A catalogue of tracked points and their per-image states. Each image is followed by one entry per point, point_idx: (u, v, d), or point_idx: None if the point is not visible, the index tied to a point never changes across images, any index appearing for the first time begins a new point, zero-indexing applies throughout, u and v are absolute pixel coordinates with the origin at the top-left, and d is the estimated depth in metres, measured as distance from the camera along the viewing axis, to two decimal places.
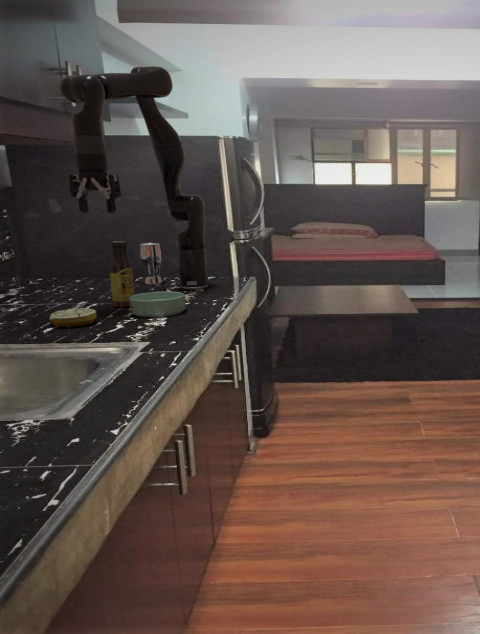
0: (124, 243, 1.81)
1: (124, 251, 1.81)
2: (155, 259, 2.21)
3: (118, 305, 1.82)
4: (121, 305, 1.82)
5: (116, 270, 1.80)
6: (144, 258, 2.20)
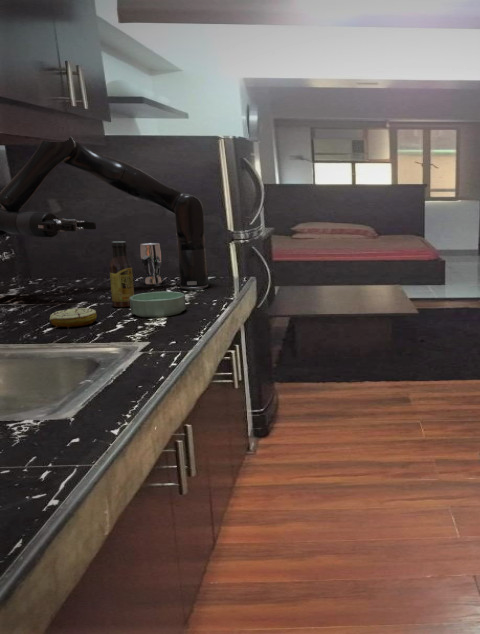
0: (124, 243, 1.81)
1: (124, 251, 1.81)
2: (155, 259, 2.21)
3: (118, 305, 1.82)
4: (121, 305, 1.82)
5: (116, 270, 1.80)
6: (144, 258, 2.20)
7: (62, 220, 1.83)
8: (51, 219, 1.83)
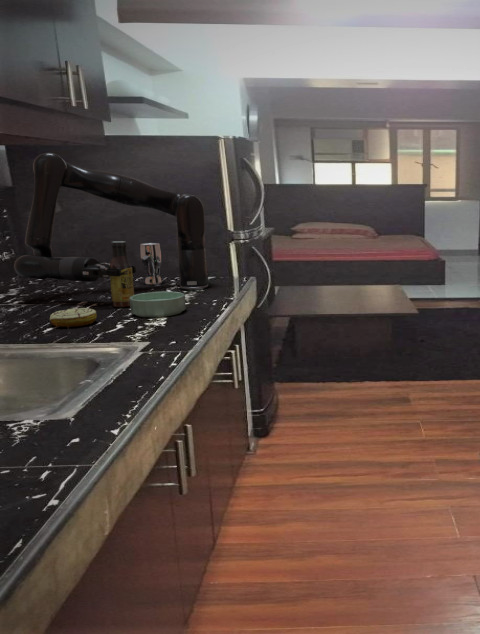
0: (124, 243, 1.80)
1: (124, 251, 1.81)
2: (155, 259, 2.21)
3: (118, 305, 1.82)
4: (121, 305, 1.82)
5: None
6: (144, 258, 2.20)
7: (103, 264, 1.84)
8: (92, 264, 1.84)
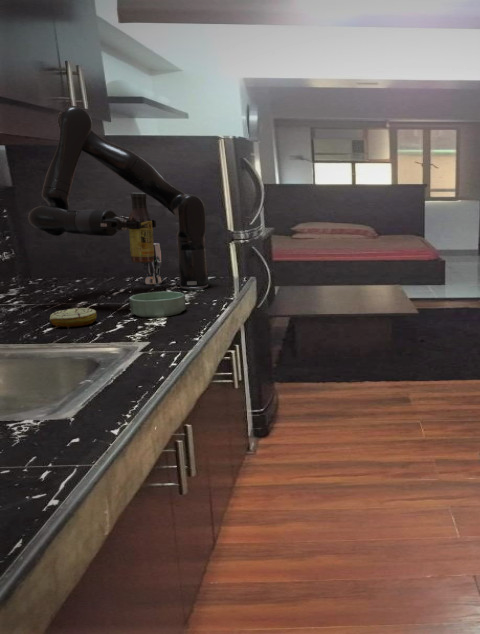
0: (144, 194, 1.71)
1: (144, 203, 1.71)
2: (155, 259, 2.21)
3: (137, 260, 1.72)
4: (140, 260, 1.72)
5: None
6: None
7: (121, 218, 1.75)
8: (111, 217, 1.74)
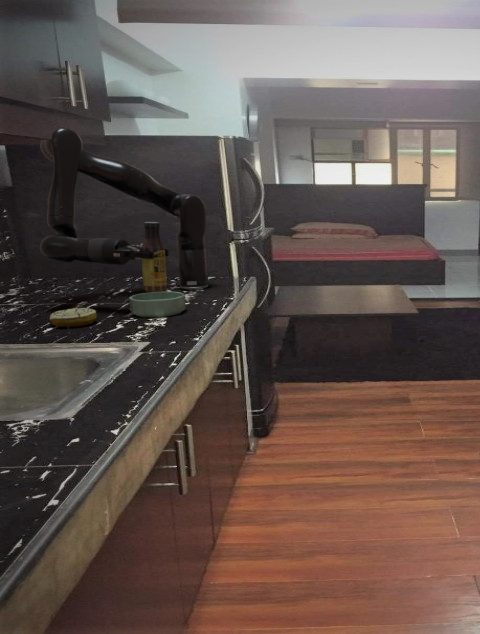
0: (157, 224, 1.70)
1: (157, 232, 1.71)
2: None
3: (150, 290, 1.71)
4: (153, 290, 1.72)
5: None
6: None
7: (134, 247, 1.74)
8: (123, 246, 1.74)
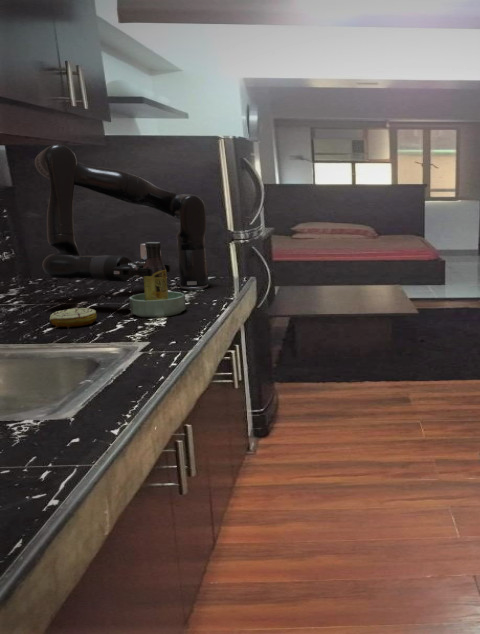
0: (158, 244, 1.72)
1: (158, 252, 1.72)
2: None
3: None
4: None
5: None
6: (144, 258, 2.20)
7: (136, 263, 1.75)
8: (125, 263, 1.75)
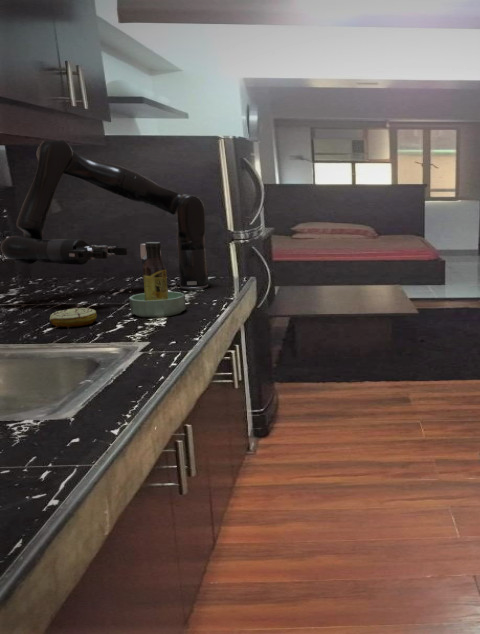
0: (158, 244, 1.72)
1: (158, 252, 1.72)
2: None
3: None
4: None
5: (150, 273, 1.71)
6: (144, 258, 2.20)
7: (93, 247, 1.78)
8: (82, 246, 1.78)
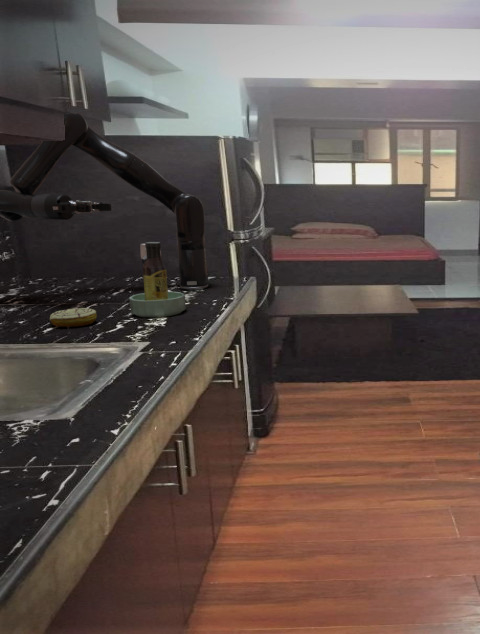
0: (158, 244, 1.72)
1: (158, 252, 1.72)
2: None
3: None
4: None
5: (150, 273, 1.71)
6: (144, 258, 2.20)
7: (77, 202, 1.79)
8: (66, 201, 1.79)
